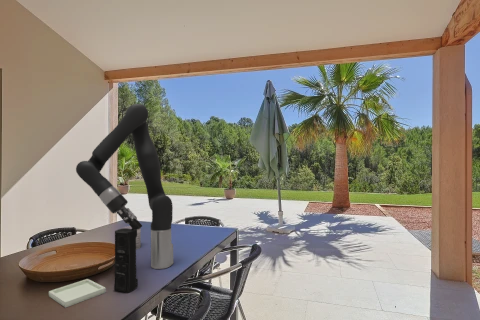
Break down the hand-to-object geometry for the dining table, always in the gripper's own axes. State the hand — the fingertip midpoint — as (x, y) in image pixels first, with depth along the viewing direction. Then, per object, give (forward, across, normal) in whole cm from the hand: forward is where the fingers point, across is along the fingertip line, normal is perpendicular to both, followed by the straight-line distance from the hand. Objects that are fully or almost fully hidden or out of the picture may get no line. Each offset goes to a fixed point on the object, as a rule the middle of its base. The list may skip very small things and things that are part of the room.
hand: (138, 228), depth 125 cm
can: (+3, +47, +18) cm, 50 cm away
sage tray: (+4, -9, +30) cm, 31 cm away
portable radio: (+14, -7, +17) cm, 24 cm away
